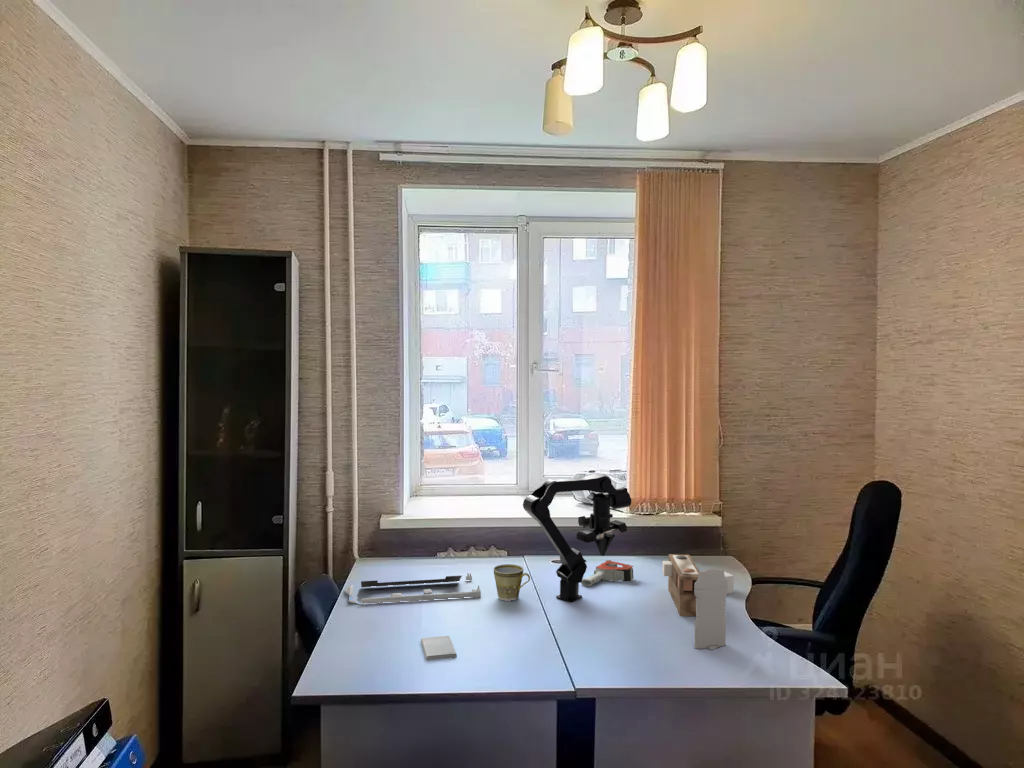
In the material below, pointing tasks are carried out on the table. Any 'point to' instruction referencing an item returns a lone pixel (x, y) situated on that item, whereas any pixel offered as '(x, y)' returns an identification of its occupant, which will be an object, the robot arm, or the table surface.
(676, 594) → the wooden stand
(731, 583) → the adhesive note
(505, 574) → the ceramic cup
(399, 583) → the paper cutter
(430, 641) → the hard drive
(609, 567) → the tape dispenser
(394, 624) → the table surface
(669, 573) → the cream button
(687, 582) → the salmon pink cube
